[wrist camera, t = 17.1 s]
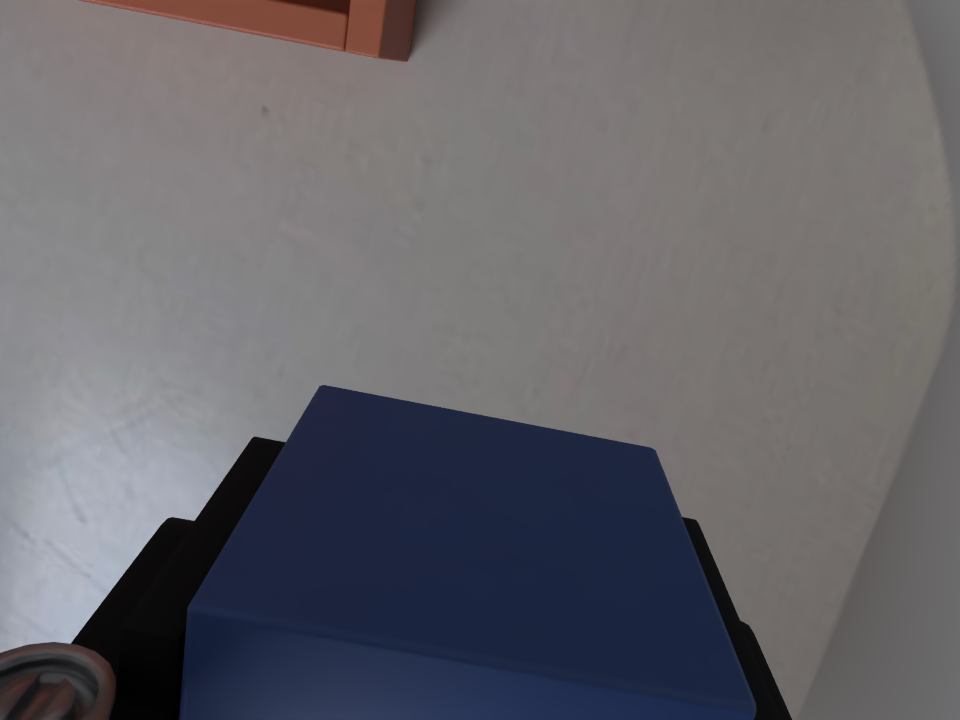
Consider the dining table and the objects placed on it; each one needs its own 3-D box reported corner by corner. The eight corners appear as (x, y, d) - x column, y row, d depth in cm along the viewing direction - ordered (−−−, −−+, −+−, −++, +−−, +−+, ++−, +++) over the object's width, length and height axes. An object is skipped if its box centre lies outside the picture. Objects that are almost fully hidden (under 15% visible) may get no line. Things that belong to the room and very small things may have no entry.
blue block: (656, 446, 10) (763, 710, 6) (576, 706, 12) (616, 1060, 8) (319, 381, 10) (184, 607, 6) (284, 653, 12) (157, 985, 8)
